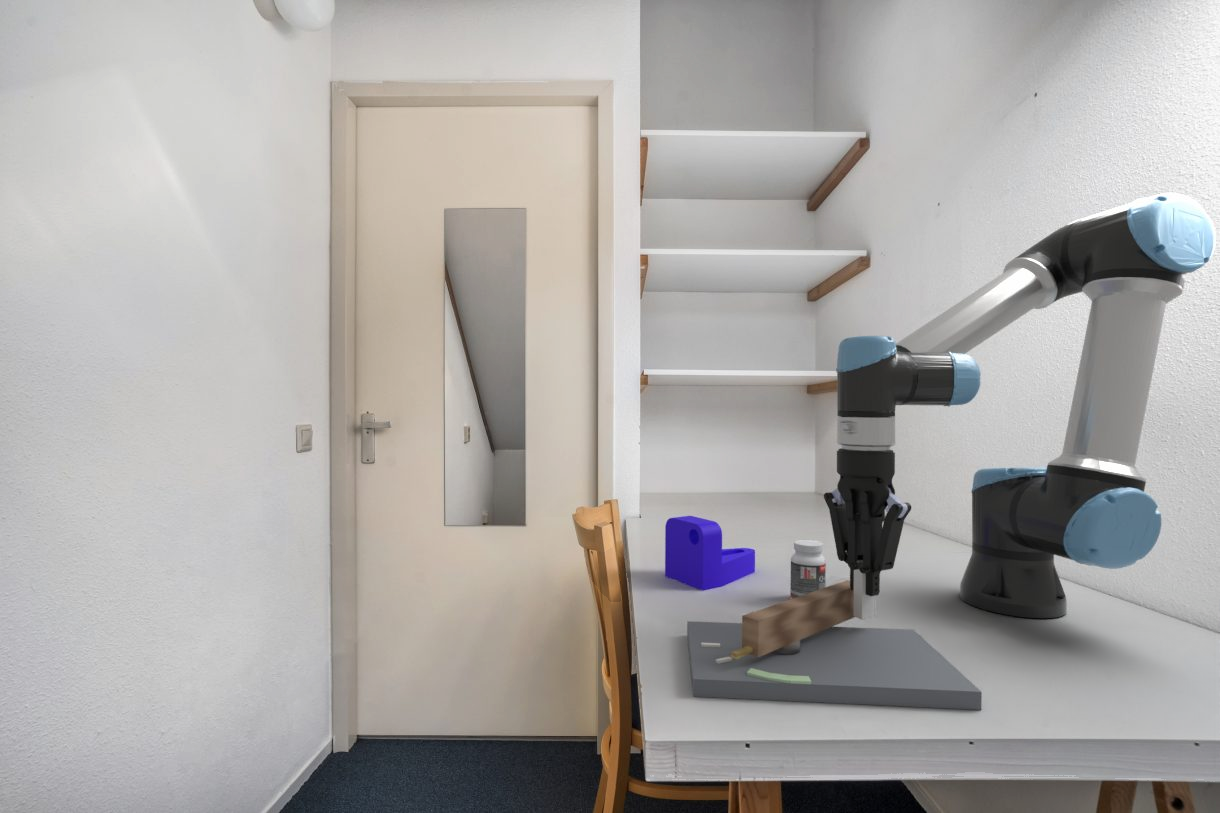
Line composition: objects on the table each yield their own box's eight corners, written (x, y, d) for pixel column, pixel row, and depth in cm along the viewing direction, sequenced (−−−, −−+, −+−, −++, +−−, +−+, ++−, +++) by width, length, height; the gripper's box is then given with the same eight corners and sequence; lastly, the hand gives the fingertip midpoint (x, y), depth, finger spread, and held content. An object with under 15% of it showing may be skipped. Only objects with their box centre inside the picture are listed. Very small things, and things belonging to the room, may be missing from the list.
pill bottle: (827, 607, 104) (828, 547, 103) (791, 605, 105) (792, 545, 105) (822, 597, 109) (823, 540, 109) (789, 594, 110) (789, 538, 110)
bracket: (702, 591, 112) (703, 525, 112) (665, 577, 122) (665, 516, 121) (772, 576, 122) (773, 516, 122) (732, 564, 131) (733, 508, 131)
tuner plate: (913, 643, 88) (913, 627, 88) (981, 709, 69) (981, 689, 69) (687, 635, 91) (687, 619, 91) (693, 696, 72) (693, 676, 72)
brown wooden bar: (841, 615, 94) (841, 579, 94) (867, 622, 91) (867, 585, 90) (720, 663, 76) (721, 619, 76) (747, 674, 73) (748, 628, 73)
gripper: (810, 445, 92) (809, 607, 92) (888, 452, 80) (886, 636, 80) (846, 444, 95) (845, 599, 95) (925, 450, 84) (924, 626, 84)
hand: (864, 616), depth 88 cm, fingers closed
